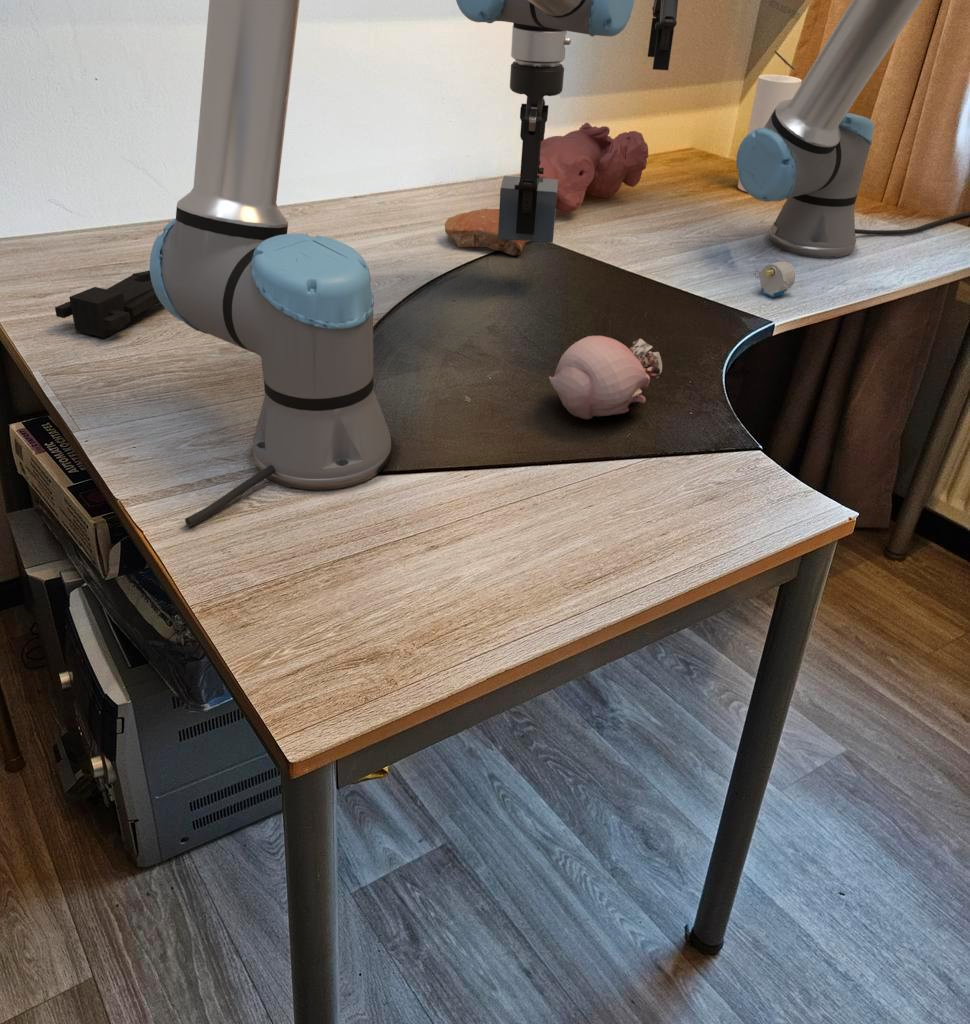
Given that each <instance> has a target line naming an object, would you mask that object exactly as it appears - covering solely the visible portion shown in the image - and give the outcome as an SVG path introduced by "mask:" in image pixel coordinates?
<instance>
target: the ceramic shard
mask: <svg viewBox="0 0 970 1024" xmlns="http://www.w3.org/2000/svg"><path fill="white" fill-rule="evenodd" d="M498 224H499V208H481V209H476V210H471V211H468V212H463V213H459V214H457V215H453V216H451V217H448V218H447V220H446V221H445V222H444V233H445V234H446V236H447V237H448V239H449V240H450V241H451V242H452V243H455V244H456V246H457V247H461V248H462V247H463V248H465V247H476V248H478V247H482V248H483V247H484V248H489V249H491V250H494V251H500V252H502V253H505V254H506V255H507V254H508V255H510V256H514V257H515V256H519V255H520V254H522V251H523V250H524V247H525V246H526V243H527V241H522V240H508V239H498Z"/></svg>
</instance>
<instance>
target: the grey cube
mask: <svg viewBox="0 0 970 1024" xmlns="http://www.w3.org/2000/svg"><path fill="white" fill-rule="evenodd" d="M529 181H532V180H529ZM519 182H520V176H513V175H511V176H510V175H503V177H502V181H501V185H500V189H499V192H500V193H499V207H498V209H499V224H498V239H508V240H522V241H526V242H535V243H538V242H539V243H550V244H551V243H552V244H553V243H554V235H555V234H554V232H555V223H556V211H557V209H556V201H557V189H558V180H556V179H542V178H537V184H538V188H537V202H536V215H535V228H534V234H520V233H516V225H517V210H518V194H519V190H515V185H519Z"/></svg>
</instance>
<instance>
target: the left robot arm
mask: <svg viewBox="0 0 970 1024" xmlns="http://www.w3.org/2000/svg"><path fill="white" fill-rule="evenodd" d="M300 1H301V0H209V1H208V13H207V22H206V23H207V24H206V36H205V48H204V60H203V69H202V70H203V71H202V72H203V73H202V81H201V95H200V106H199V118H198V129H197V139H196V140H197V141H196V153H195V167H194V177H193V187H192V189H191V190H190V191H189V192H188V193H187V194H186V195H184V196H183V197H181V199H179V200H178V201H177V203H176V209H175V210H176V211H175V219H173V220H171V221H170V222H168V223H167V224H166V225H165V226H164V227H163V228H162V230H163V232H162V233H161V234H159V235H157V236H156V238H155V240H154V242H153V243H152V244H153V245H152V248H151V252H150V256H149V270H150V276H151V281H152V285H153V288H154V291H155V293H156V295H157V297H158V299H159V301H160V302H161V303H160V304H161V305H162V307H164V308H165V309H164V310H166V311H167V312H168V313H169V314H170V315H172V316H173V317H174V318H176V319H177V320H178V321H181V322H183V323H184V324H185V325H187V326H188V327H190V328H191V329H193V330H195V331H197V332H201V333H203V334H206V335H210V336H213V337H215V338H218V339H219V340H222V341H225V342H227V343H229V344H232V345H234V346H237V347H239V348H241V349H244V350H246V351H249V352H251V353H254V354H256V355H258V356H259V357H260V359H261V369H262V378H263V388H264V390H263V391H264V396H263V400H262V404H261V408H260V412H259V415H258V419H257V423H256V427H255V430H254V434H253V439H252V441H253V442H252V455H253V460H254V464H255V467H256V468H257V470H258V471H259V472H257V473H256V474H254V475H253V476H251V477H250V478H248V479H246V480H245V481H243V482H242V483H240V484H238V485H237V486H235V487H234V488H233V489H231V490H230V491H228V492H227V493H226V494H224V495H223V496H222V497H220V498H219V499H217V500H215V501H214V502H212V503H211V504H208V506H206V507H204V508H202V509H201V510H199V511H198V512H196V513H195V512H194V513H193V514H192V515H189V516H188V517H185V519H184V522H185V525H187V526H188V527H192V526H194V525H196V524H197V523H200V522H202V521H204V520H206V519H208V518H209V517H210V516H212V515H214V514H215V513H217V512H219V511H220V510H222V508H225V507H226V506H227V505H229V504H230V503H231V502H233V501H234V500H235V499H237V498H239V497H240V496H241V495H243V494H245V493H246V492H248V491H249V490H251V489H252V488H253V487H255V486H256V485H258V484H260V483H261V482H263V481H265V480H266V479H267V478H268V479H269V480H271V481H273V482H275V483H278V484H280V485H283V486H286V487H290V488H295V489H301V490H312V491H314V490H315V491H323V490H327V491H328V490H337V489H342V488H348V487H351V486H355V485H358V484H361V483H363V482H366V481H368V480H370V479H373V478H374V477H375V476H377V475H378V474H380V473H381V472H382V471H383V470H384V469H385V468H386V467H387V466H388V464H389V463H390V461H391V458H392V438H391V432H390V430H389V427H388V424H387V422H386V419H385V417H384V413H383V411H382V408H381V406H380V403H379V400H378V398H377V395H376V393H375V385H374V304H375V303H374V293H373V289H372V283H371V282H372V281H371V272H370V268H369V266H368V264H367V261H366V260H365V259H364V257H363V256H362V255H361V253H359V252H358V251H357V250H356V249H354V248H353V247H352V246H350V245H348V244H346V243H344V242H342V241H339V240H337V239H335V238H331V237H328V236H323V235H316V236H311V235H309V234H308V233H288V230H289V229H288V228H289V221H288V220H287V218H286V217H285V215H284V214H283V212H282V211H281V210H280V208H279V207H278V203H277V199H278V190H279V182H280V175H281V165H282V155H283V149H284V148H283V147H284V139H285V132H286V122H287V113H288V105H289V95H290V88H291V87H290V86H291V78H292V71H293V62H294V53H295V52H294V51H295V44H296V37H297V36H296V35H297V26H298V20H299V18H298V17H299V9H300ZM455 1H456V5H457V7H458V8H459V10H460V12H461V14H463V15H464V17H465V18H467V20H469V21H471V22H474V23H487V24H493V23H494V22H505V23H510V24H511V23H512V24H513V25H512V29H511V30H512V31H511V49H510V50H511V51H510V56H511V58H512V59H513V60H514V61H513V62H512V63H511V64H510V73H509V75H510V76H509V89H510V90H511V91H512V92H513V93H515V94H518V95H525V96H526V103H521V106H520V108H519V109H520V111H519V119H520V134H519V137H520V140H521V141H522V143H521V144H522V146H521V159H520V172H519V177H520V182H519V185H515V190H519V194H518V210H517V225H516V233H520V234H534V228H535V215H536V202H537V188H538V184H537V178H539V175H538V174H543V173H544V168H539V165H540V162H541V161H540V150H541V142H542V141H543V140H544V139H545V133H546V123H547V121H548V117H549V105H548V104H546V100H545V98H544V97H555V96H558V95H560V94H561V93H562V92H563V90H564V89H563V87H564V78H565V77H564V75H565V67H564V65H563V64H562V62H563V61H564V60H566V46H570V45H571V44H572V40H571V39H572V38H571V37H570V36H567V34H568V32H570V33H576V34H577V33H578V34H584V35H589V36H590V37H592V38H593V37H595V36H597V37H598V36H600V37H610V38H611V37H614V36H615V37H616V36H617V35H619V34H620V33H621V32H623V30H624V29H625V28H626V26H627V25H628V23H629V21H630V19H631V15H632V12H633V8H634V4H635V0H455ZM529 180H532V181H529Z"/></svg>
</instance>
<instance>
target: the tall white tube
mask: <svg viewBox="0 0 970 1024" xmlns="http://www.w3.org/2000/svg"><path fill="white" fill-rule="evenodd" d="M768 6H770V7H772V8H774V7H777V8H779V7H780V8H779V9H778V10H779V12H782V13H784V14H787V15H790V16H792V19H795V18H796V21H799V19H800V17H799V16H798V15H800V13H799V12H797V14H796V11H795V10H794V9H792V8H789V7H783V4H781V5H780V3H778V2H777V1H776V0H770V2H769V5H768ZM797 16H798V17H797ZM773 53H774V54H776V56H777V57H778V58H779V59H781V61H782V62H783V63H784V64H785V65H786V66H788V68H790V69H791V70H792V71H793V72H794V71H795V68H794V67H793V66H792V65H791V64H790V63H789V62H788V61H787V60H786V59H785V58H784V57H783V56H782V55H780V53H778V52H777V50H775V51H774V52H773ZM802 82H803V79H801V78H799V77H795V76H791V75H783V74H769V73H768V74H767V73H766V74H760V75H758V76H757V82H756V87H755V91H754V97H753V102H752V108H751V113H750V119H749V124H748V128H747V129H748V130H747V134H746V136H747V135H748V134H749V133H751V132H752V131H754V130H755V129H759V128H764V127H765V125H766V123H767V122H768V120H769V118H770V117H771V115H772V113H773V112H774V110H775V108H776V107H777V105H778V104H779V103H780V102H782V101H785V100H790V99H792V98H793V97H794V95H795V93H796V92H797V90H798V88H799V87H800V85H801V83H802ZM737 188H738V189H739V190H741V191H743V192H746V193H747V191H746V190H745V189H744V187H743V186H742V184H741V182H740V180H739V179H738V182H737Z"/></svg>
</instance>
